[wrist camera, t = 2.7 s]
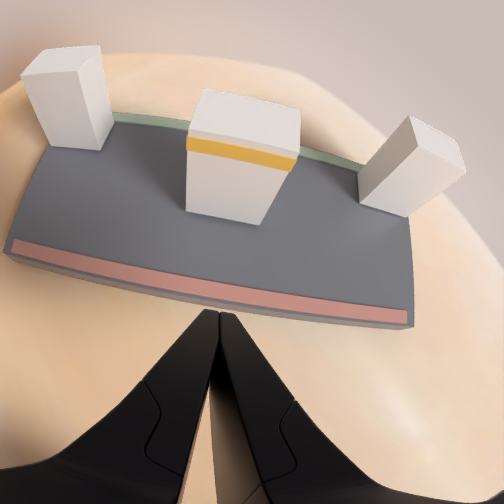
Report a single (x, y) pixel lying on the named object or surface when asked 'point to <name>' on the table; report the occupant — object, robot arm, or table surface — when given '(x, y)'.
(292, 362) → the table surface
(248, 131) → the yellow-banded white block
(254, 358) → the robot arm
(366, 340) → the table surface
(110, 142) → the grey tray with blocks
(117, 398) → the table surface
